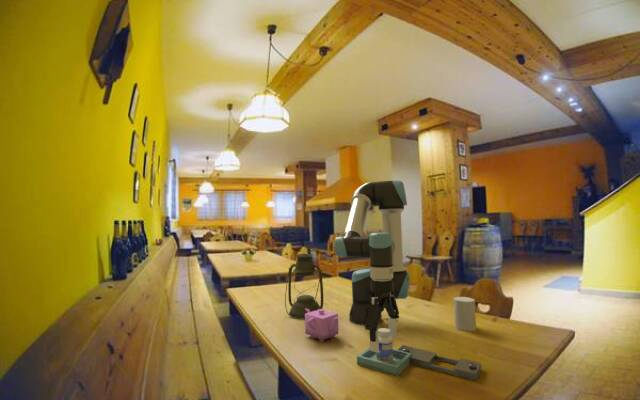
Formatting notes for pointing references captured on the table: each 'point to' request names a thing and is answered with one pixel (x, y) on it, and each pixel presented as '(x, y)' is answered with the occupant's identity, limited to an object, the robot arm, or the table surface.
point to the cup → (464, 313)
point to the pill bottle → (385, 346)
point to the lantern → (303, 302)
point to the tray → (392, 368)
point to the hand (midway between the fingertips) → (384, 344)
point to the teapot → (321, 324)
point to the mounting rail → (428, 358)
